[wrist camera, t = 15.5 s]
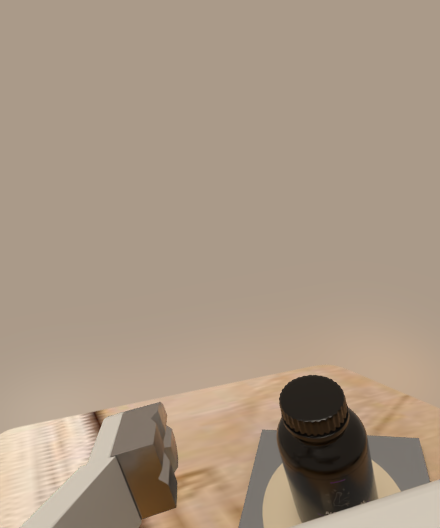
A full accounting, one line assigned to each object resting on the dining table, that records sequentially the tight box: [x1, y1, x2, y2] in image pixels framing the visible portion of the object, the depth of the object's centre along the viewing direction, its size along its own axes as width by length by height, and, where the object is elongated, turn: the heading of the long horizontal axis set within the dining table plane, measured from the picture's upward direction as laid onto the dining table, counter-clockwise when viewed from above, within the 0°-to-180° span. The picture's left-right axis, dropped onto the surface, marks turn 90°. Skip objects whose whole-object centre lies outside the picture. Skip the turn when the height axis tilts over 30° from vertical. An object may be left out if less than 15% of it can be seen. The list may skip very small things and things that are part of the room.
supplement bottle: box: [277, 375, 378, 523], centre depth 26 cm, size 7×7×12 cm
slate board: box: [239, 430, 430, 528], centre depth 28 cm, size 16×16×2 cm
